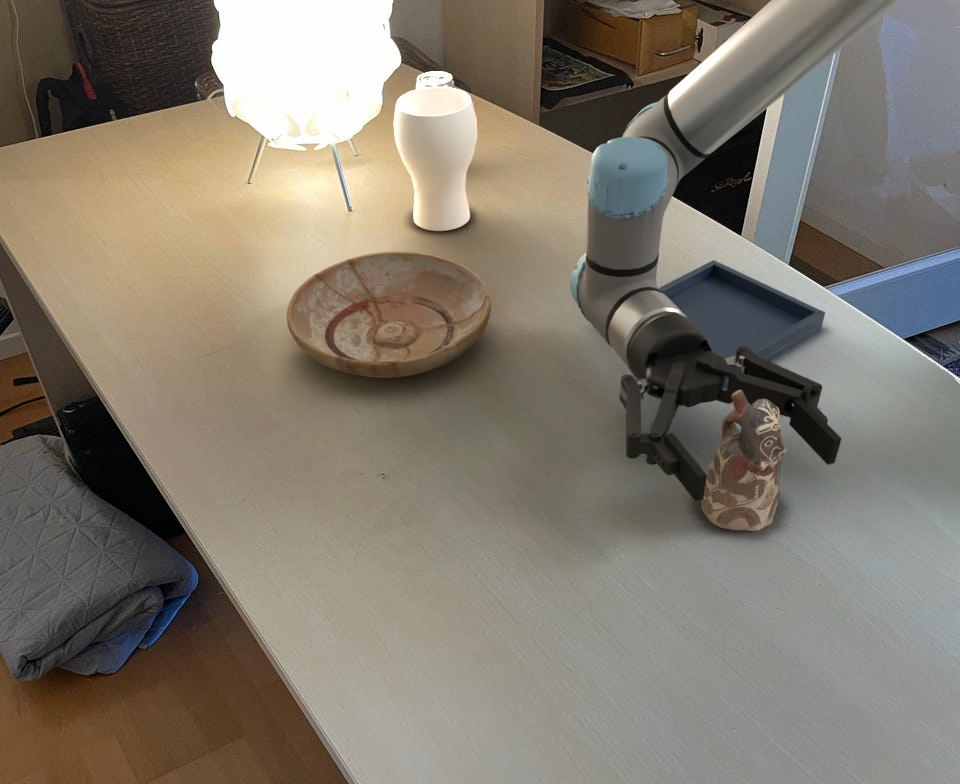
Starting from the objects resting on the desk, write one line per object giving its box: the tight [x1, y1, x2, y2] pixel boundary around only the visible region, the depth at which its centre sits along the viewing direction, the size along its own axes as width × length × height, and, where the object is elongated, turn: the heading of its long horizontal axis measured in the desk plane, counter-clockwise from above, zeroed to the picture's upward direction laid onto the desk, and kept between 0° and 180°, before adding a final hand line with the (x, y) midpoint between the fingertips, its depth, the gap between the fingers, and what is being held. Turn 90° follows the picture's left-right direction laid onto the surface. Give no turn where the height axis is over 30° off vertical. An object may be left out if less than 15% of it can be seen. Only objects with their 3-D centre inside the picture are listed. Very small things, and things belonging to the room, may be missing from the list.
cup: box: [393, 87, 478, 232], centre depth 130 cm, size 11×11×15 cm
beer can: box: [415, 70, 455, 90], centre depth 142 cm, size 5×5×12 cm
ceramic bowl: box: [286, 250, 492, 379], centre depth 114 cm, size 23×24×5 cm
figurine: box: [700, 390, 787, 532], centre depth 90 cm, size 7×7×12 cm
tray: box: [659, 259, 826, 389], centre depth 114 cm, size 17×17×2 cm
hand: (769, 470), depth 87 cm, fingers open, 12 cm apart
